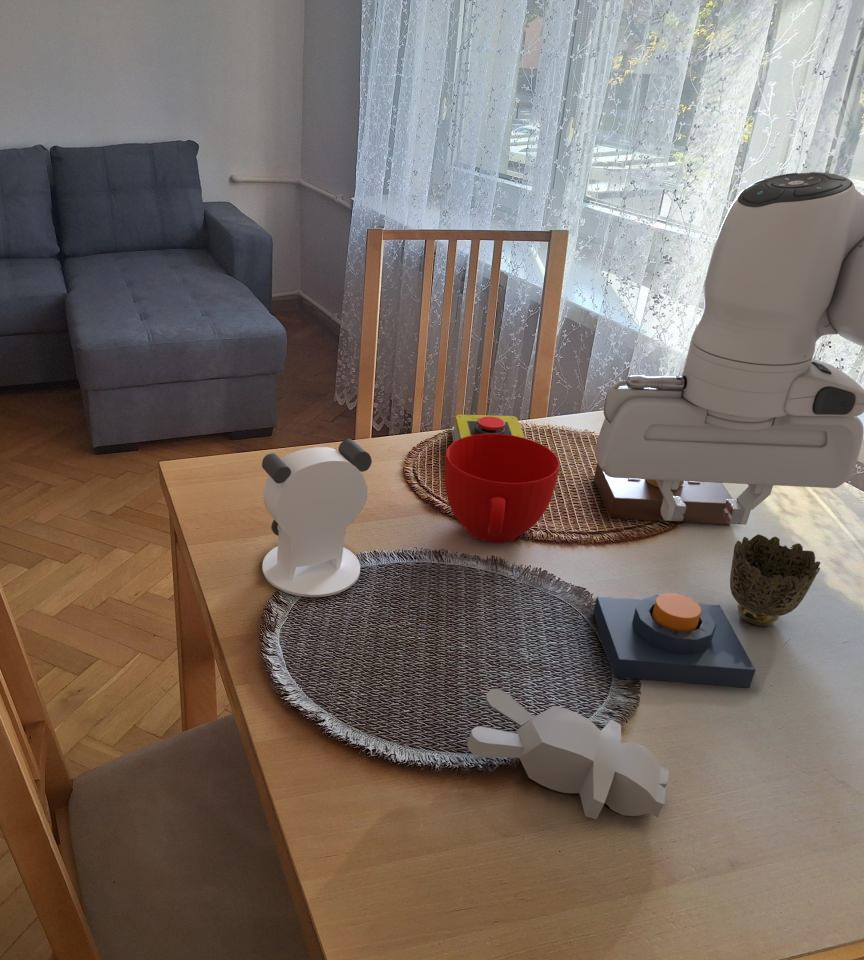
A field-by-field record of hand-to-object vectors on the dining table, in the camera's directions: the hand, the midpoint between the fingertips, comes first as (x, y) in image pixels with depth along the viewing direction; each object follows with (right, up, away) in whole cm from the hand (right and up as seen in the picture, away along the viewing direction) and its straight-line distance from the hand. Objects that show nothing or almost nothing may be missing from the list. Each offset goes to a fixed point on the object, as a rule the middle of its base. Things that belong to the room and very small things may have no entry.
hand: (702, 519), depth 79 cm
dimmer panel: (+12, +1, +32) cm, 34 cm away
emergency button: (-6, +7, +46) cm, 47 cm away
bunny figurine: (-15, -21, -6) cm, 27 cm away
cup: (+12, -11, +11) cm, 19 cm away
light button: (0, -10, +6) cm, 12 cm away
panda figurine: (-33, -7, +22) cm, 40 cm away
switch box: (0, -13, +7) cm, 15 cm away
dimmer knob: (+12, +4, +31) cm, 33 cm away
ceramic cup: (-11, -4, +26) cm, 29 cm away
